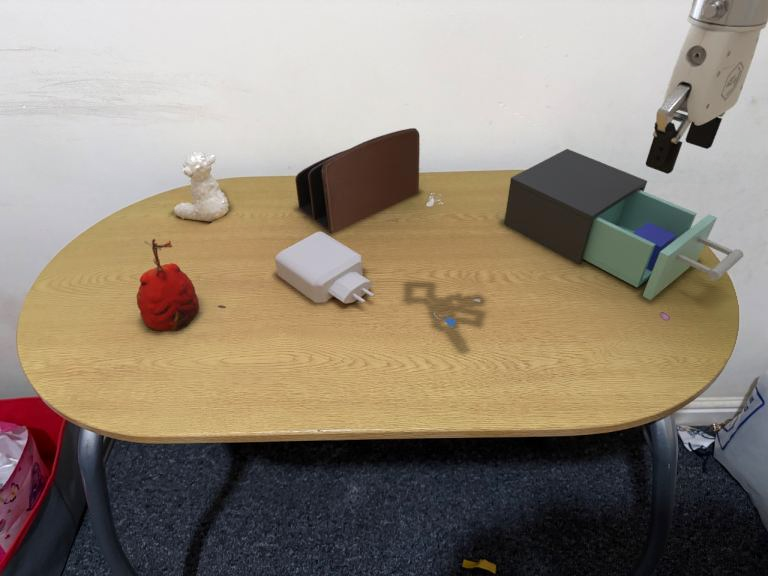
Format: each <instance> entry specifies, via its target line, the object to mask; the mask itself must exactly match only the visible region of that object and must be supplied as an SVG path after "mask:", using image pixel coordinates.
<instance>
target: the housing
mask: <svg viewBox="0 0 768 576" xmlns="http://www.w3.org/2000/svg"><path fill="white" fill-rule="evenodd" d="M647 183H648V180H646V179H644V178H642V177H639V176H636V175H634V174H631V173H629V172H626V171H623V170H621V169H620V168H617V167H614V166H611V165H609V164H606V163H604V162H601V161H599V160H596V159H594V158H591V157H589V156H586V155H584V154H582V153H580V152H576V151H574V150H572V149H569V148H566V149H564V150H562V151H560V152H558V153H556V154H554V155H552V156H550V157H548V158H547V159H544V160H543V161H541V162H539V163H536V164H534V165H533V166H531V167H529V168H527V169H525V170H523V171H521V172H519V173H517V174H515V175H513V176H511V177H510V180H509V187H508V195H507V203H506V208H505V214H504V215H505V216H504V221H503V225H504V226H506V227H508V228H510V229H512V230H514V231H515V232H518V233H519V234H521V235H523V236H525V237H526V238H528V239H530V240H532V241H534V242H536V243H537V244H540V245H541V246H543V247H544V248H547V249H549V250H551V251H552V252H554V253H555V254H557V255H560V256H562V257H563V258H565V259H567V260H569V261H571V262H573V264H576V265H578V266H579V265H581V264H582V263H583V260H584V259H583V256H584V252H585V249H586V245H587V242H588V238H589V234H590V231H591V227H592V224H593V220H594V218H596V217H597V216H599V215H600V214H602V213H604V212H605V211H607V210H608V209H610V208H611V207H613V206H614V205H616V204H618V203H619V202H621V201H622V200H624V199H625V198H627V197H628V196H630V195H632V194H633V193H635V192H636V191H638V190H642V191H644V192H645V189H646V186H647Z"/></svg>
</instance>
